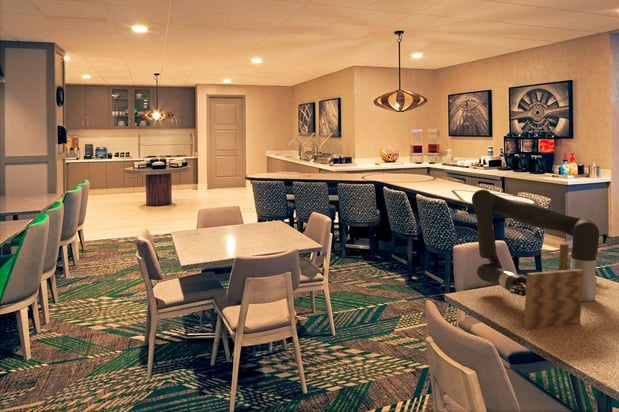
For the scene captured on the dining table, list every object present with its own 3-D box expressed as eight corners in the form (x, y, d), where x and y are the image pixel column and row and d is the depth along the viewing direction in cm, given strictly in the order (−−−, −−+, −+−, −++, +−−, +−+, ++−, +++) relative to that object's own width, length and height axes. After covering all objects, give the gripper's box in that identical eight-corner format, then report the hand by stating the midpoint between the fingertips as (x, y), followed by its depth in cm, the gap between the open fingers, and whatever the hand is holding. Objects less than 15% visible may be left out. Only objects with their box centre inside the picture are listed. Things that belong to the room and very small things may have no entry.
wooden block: (582, 285, 226) (585, 246, 224) (556, 281, 232) (559, 244, 229) (583, 283, 229) (586, 245, 227) (557, 280, 235) (560, 242, 232)
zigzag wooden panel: (566, 316, 188) (569, 265, 185) (580, 323, 181) (583, 270, 179) (515, 322, 183) (517, 269, 180) (527, 329, 176) (530, 274, 174)
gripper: (498, 274, 199) (525, 287, 182) (528, 272, 202) (558, 285, 186) (497, 292, 200) (524, 307, 184) (527, 290, 203) (557, 304, 187)
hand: (541, 296), depth 185 cm, fingers closed on rail end, 3 cm apart
